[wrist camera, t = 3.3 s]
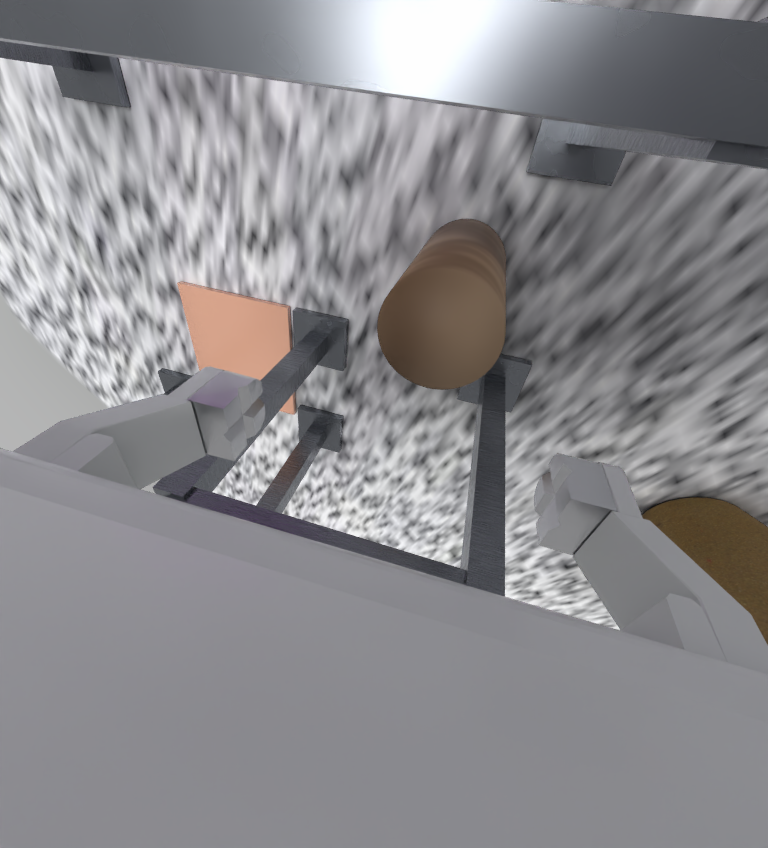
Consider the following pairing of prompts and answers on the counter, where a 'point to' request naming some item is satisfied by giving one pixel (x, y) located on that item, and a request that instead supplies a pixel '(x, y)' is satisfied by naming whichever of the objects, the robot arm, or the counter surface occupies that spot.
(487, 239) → the walnut cylinder
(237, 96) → the counter surface
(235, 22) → the dark grey bar frame
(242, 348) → the tile
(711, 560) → the plant pot
